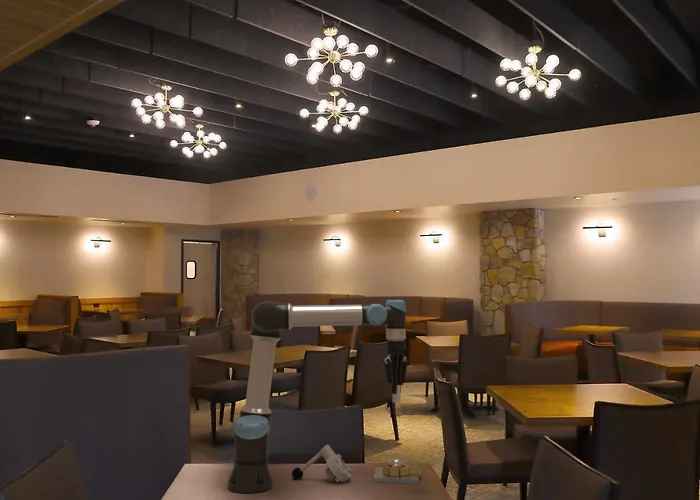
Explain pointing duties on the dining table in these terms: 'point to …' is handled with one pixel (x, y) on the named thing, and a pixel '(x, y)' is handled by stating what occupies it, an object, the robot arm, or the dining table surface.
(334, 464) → the mechanical valve
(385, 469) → the ring nut
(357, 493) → the dining table surface
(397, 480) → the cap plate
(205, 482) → the dining table surface
